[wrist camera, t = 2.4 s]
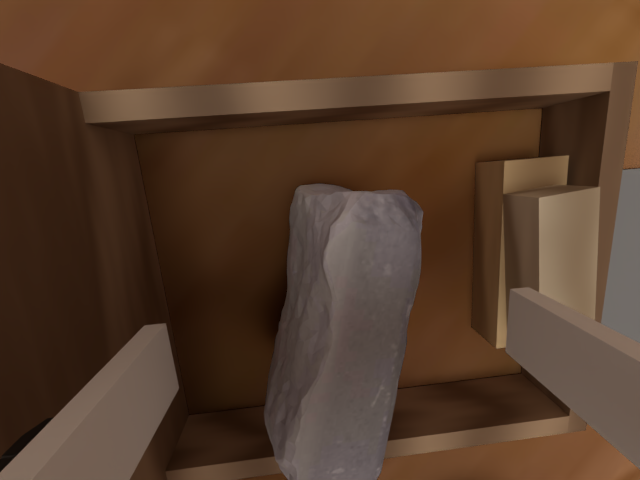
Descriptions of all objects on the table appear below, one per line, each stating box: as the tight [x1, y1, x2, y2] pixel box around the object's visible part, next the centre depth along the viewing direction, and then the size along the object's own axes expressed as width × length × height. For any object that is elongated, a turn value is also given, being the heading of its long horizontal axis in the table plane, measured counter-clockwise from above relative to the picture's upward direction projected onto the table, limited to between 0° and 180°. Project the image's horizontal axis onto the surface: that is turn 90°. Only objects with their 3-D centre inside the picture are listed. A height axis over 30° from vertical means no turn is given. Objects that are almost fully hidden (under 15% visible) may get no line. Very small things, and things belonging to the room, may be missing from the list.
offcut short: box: [503, 185, 600, 324], centre depth 16 cm, size 3×8×2 cm, turn 10°
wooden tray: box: [0, 61, 638, 480], centre depth 14 cm, size 26×20×12 cm
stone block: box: [264, 183, 423, 480], centre depth 15 cm, size 12×5×10 cm, turn 171°
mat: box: [601, 168, 640, 343], centre depth 21 cm, size 11×16×1 cm
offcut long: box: [471, 155, 569, 349], centre depth 19 cm, size 4×11×3 cm, turn 5°
